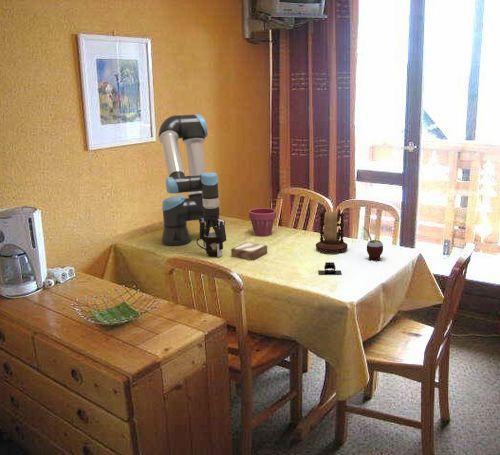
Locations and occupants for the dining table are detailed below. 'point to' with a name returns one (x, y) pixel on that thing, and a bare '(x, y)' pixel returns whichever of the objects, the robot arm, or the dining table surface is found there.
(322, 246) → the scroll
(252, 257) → the plinth
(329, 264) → the black hat
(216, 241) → the coffee mug
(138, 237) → the dining table surface
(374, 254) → the mate gourd
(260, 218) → the plant pot
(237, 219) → the dining table surface
